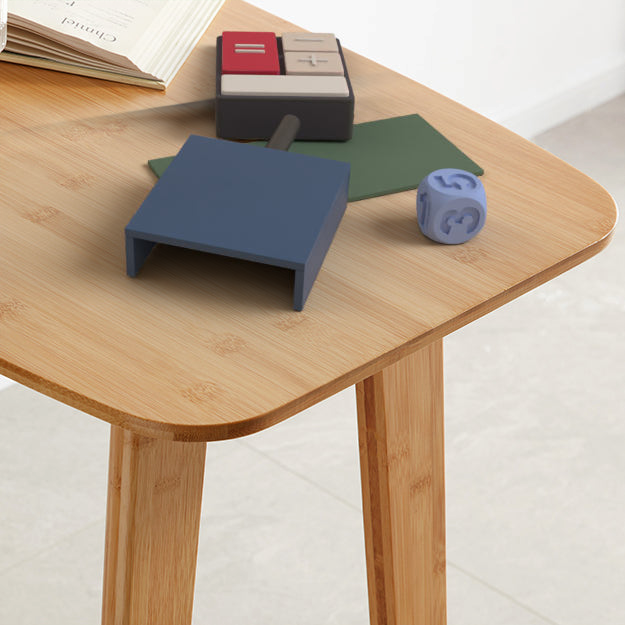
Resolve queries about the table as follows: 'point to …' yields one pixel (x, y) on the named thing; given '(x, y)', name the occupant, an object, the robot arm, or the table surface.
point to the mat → (379, 155)
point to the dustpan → (245, 205)
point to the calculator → (282, 85)
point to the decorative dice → (451, 206)
